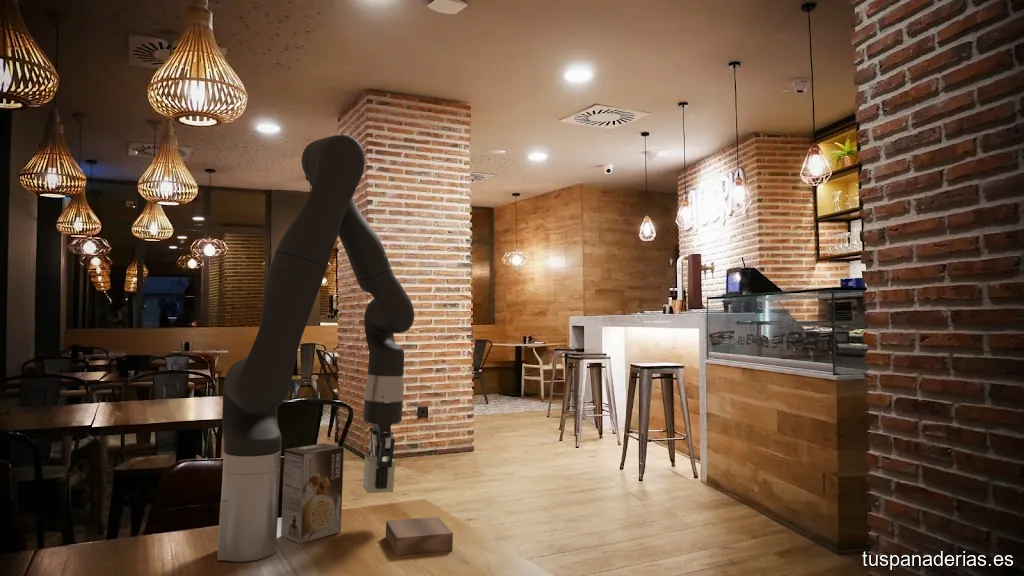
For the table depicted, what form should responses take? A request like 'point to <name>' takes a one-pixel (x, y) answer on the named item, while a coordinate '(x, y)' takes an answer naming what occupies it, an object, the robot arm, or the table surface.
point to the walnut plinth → (418, 535)
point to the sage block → (371, 476)
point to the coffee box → (312, 492)
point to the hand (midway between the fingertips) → (378, 484)
